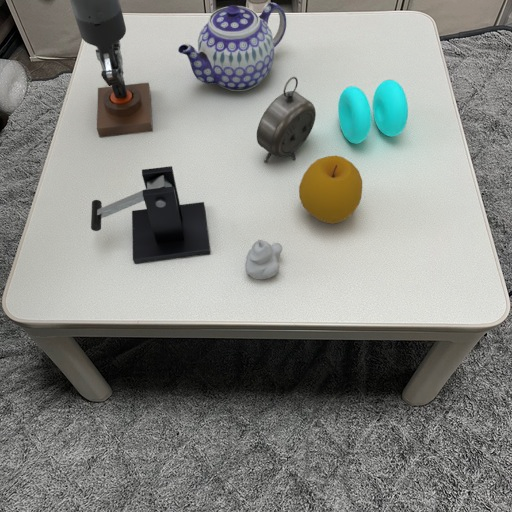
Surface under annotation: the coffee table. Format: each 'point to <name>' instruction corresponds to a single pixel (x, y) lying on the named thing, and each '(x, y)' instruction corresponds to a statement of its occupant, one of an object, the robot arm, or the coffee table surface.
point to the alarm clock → (286, 124)
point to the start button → (121, 99)
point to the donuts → (384, 110)
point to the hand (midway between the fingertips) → (121, 95)
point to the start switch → (124, 112)
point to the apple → (331, 189)
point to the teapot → (235, 47)
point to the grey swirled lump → (263, 259)
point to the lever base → (167, 223)
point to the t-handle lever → (122, 202)
